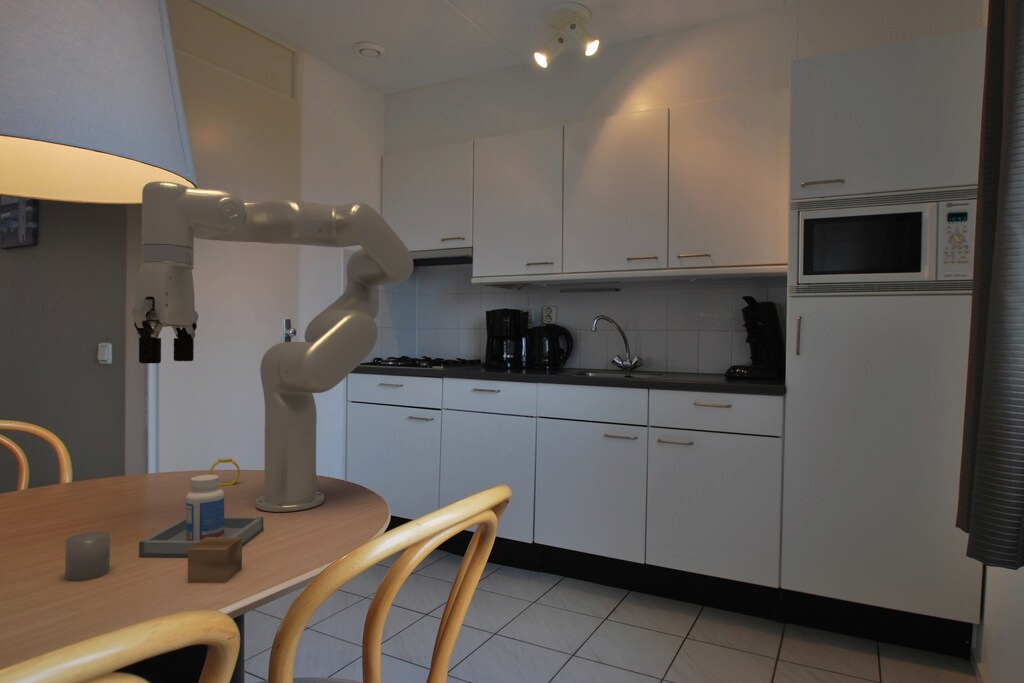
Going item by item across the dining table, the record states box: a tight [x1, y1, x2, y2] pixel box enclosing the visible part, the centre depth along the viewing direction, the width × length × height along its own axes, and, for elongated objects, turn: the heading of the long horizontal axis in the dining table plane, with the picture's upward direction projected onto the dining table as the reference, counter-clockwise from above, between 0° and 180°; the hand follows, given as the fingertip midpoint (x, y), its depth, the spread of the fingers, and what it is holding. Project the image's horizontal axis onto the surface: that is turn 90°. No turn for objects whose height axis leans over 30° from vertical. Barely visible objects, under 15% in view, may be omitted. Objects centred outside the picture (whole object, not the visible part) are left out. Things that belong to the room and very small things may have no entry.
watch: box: [209, 456, 241, 487], centre depth 134 cm, size 6×3×6 cm, turn 114°
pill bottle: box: [185, 474, 225, 541], centre depth 96 cm, size 6×5×10 cm
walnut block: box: [187, 537, 243, 584], centre depth 83 cm, size 5×5×4 cm
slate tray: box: [138, 516, 264, 559], centre depth 96 cm, size 13×13×2 cm
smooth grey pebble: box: [64, 531, 111, 583], centre depth 83 cm, size 5×5×5 cm
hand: (167, 362), depth 101 cm, fingers open, 9 cm apart
